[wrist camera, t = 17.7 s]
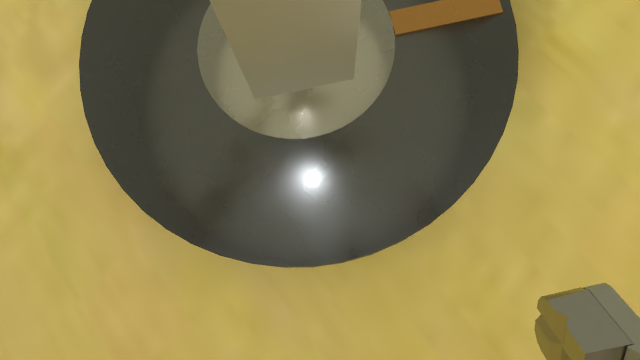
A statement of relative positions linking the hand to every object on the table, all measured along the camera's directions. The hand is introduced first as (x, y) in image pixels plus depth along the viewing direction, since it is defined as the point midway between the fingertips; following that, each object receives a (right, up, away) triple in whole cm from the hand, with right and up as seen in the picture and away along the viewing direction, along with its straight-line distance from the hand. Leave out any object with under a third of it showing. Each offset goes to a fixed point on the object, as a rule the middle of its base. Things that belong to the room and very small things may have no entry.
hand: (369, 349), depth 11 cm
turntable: (-2, +10, +12) cm, 16 cm away
